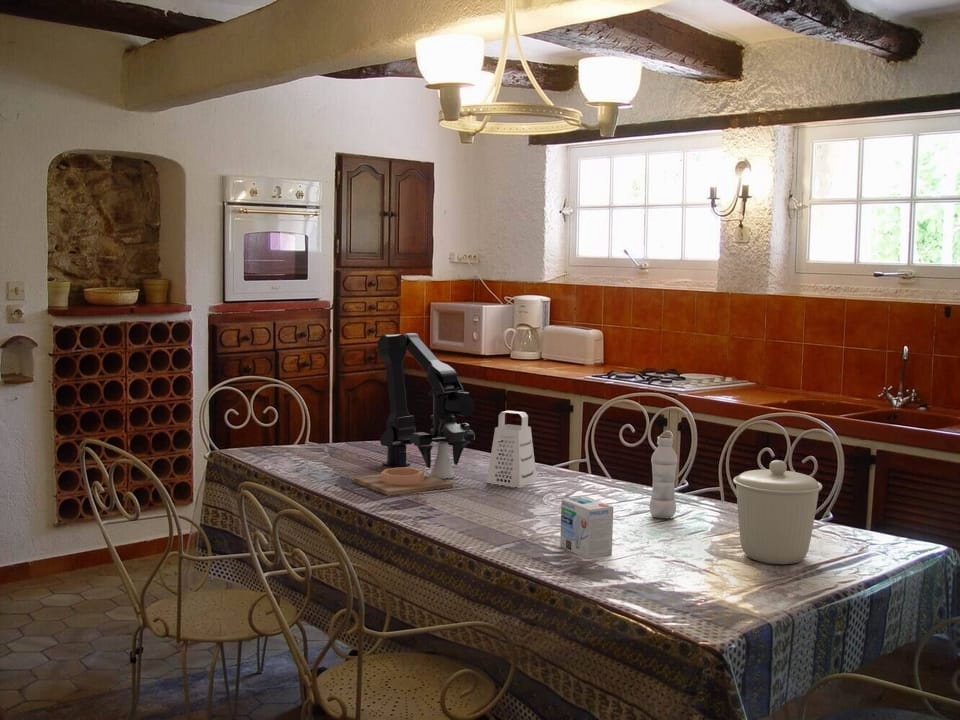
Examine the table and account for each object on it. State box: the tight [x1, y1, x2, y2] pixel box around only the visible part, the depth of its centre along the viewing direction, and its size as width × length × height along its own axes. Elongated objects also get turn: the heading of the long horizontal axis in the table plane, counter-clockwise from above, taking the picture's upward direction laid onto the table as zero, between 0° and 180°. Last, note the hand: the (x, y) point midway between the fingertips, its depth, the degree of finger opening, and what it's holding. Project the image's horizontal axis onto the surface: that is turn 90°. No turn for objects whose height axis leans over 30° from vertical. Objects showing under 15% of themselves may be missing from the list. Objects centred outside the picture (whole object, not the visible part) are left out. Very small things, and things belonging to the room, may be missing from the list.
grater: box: [486, 410, 538, 489], centre depth 283 cm, size 10×10×20 cm
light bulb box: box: [559, 495, 614, 560], centre depth 217 cm, size 11×7×11 cm, turn 29°
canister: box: [732, 459, 823, 565], centre depth 214 cm, size 18×18×21 cm
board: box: [352, 472, 453, 497], centre depth 279 cm, size 20×20×1 cm
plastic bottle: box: [648, 435, 679, 519], centre depth 246 cm, size 6×7×20 cm
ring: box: [380, 466, 425, 485], centre depth 279 cm, size 11×11×2 cm
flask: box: [429, 441, 455, 480], centre depth 290 cm, size 7×7×10 cm
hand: (442, 466), depth 290 cm, fingers open, 9 cm apart
